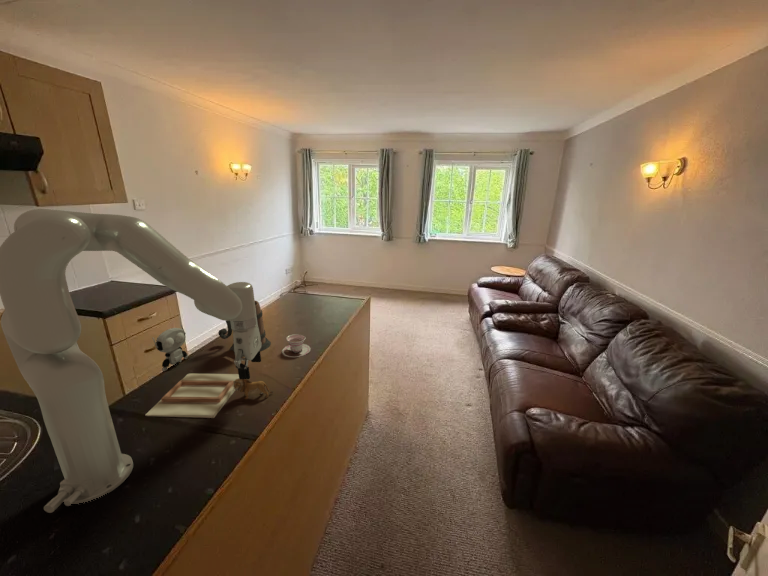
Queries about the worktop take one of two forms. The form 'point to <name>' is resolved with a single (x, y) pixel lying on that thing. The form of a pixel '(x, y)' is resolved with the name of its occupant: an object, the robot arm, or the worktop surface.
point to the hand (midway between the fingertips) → (250, 369)
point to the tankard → (264, 340)
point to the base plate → (196, 396)
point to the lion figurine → (250, 386)
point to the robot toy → (171, 346)
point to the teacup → (296, 345)
